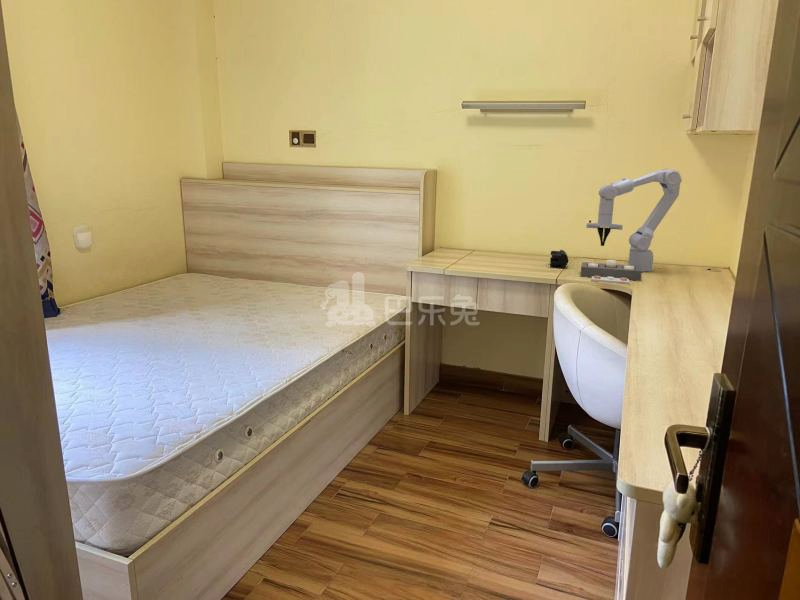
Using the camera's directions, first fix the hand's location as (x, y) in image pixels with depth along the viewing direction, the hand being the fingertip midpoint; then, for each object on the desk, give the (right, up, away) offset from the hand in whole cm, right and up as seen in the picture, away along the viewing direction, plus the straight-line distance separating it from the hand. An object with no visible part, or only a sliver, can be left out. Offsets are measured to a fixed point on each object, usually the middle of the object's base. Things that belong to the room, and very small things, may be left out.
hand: (602, 245), depth 261 cm
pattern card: (-3, -16, -19) cm, 25 cm away
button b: (0, -11, -11) cm, 15 cm away
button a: (+6, -14, -12) cm, 19 cm away
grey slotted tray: (0, -13, -10) cm, 17 cm away
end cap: (-17, -9, +8) cm, 20 cm away
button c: (-7, -12, -8) cm, 16 cm away
